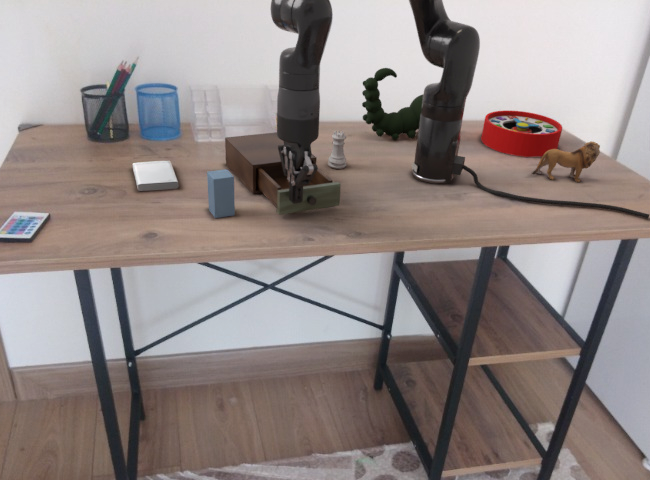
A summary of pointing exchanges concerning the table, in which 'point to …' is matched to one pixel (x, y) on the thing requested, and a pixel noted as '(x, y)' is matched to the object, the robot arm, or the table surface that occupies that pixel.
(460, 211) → the table surface
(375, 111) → the toy figurine
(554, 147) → the toy clock
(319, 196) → the drawer
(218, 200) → the slate block
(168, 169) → the hard drive
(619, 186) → the table surface
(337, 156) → the rook chess piece
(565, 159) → the lion figurine
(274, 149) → the cabinet
